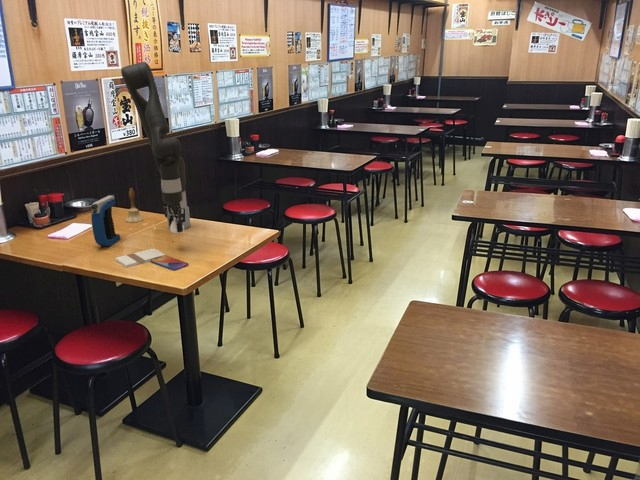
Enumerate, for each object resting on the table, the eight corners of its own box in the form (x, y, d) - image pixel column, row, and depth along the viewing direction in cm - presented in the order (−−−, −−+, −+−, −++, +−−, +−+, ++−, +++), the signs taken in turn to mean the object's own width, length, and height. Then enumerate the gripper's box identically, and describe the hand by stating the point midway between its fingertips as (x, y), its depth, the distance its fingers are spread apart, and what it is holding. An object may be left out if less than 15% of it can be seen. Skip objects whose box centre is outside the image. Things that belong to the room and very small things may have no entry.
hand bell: (140, 216, 255) (137, 185, 250) (145, 221, 249) (141, 188, 243) (123, 219, 251) (119, 187, 246) (127, 224, 244) (123, 191, 239)
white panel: (154, 250, 210) (153, 248, 210) (165, 257, 203) (165, 254, 203) (115, 260, 200) (114, 257, 199) (126, 267, 193) (125, 265, 192)
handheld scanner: (124, 237, 226) (117, 193, 219) (106, 250, 210) (98, 203, 204) (114, 237, 226) (106, 193, 220) (95, 250, 211) (87, 203, 204)
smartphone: (174, 272, 190) (173, 269, 189) (149, 262, 198) (149, 260, 198) (190, 266, 195) (190, 263, 195) (165, 257, 204) (165, 254, 203)
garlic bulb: (185, 216, 209) (177, 220, 204) (186, 230, 211) (179, 234, 206) (173, 215, 210) (165, 218, 206) (175, 228, 212) (167, 233, 208)
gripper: (189, 191, 200) (193, 232, 206) (171, 184, 210) (175, 224, 216) (172, 194, 196) (177, 236, 201) (154, 188, 205) (159, 228, 211)
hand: (176, 230), depth 209 cm, fingers closed on garlic bulb, 5 cm apart
